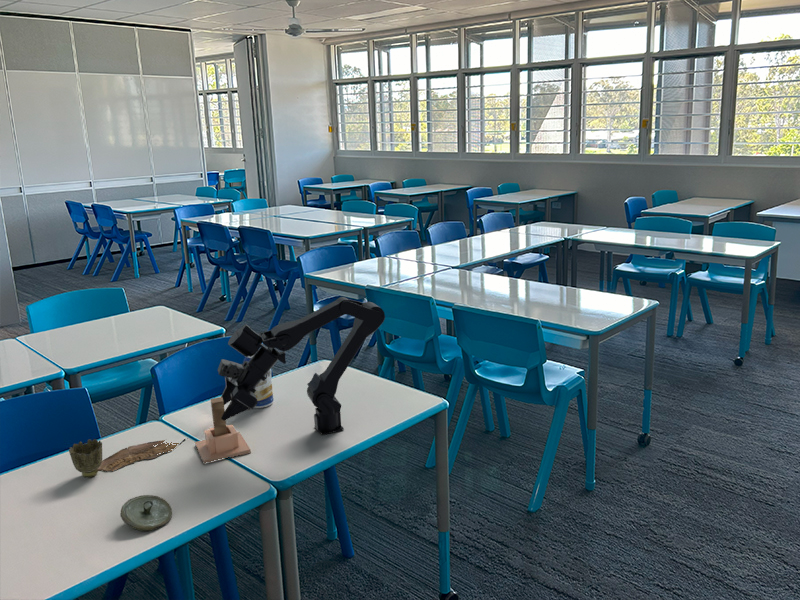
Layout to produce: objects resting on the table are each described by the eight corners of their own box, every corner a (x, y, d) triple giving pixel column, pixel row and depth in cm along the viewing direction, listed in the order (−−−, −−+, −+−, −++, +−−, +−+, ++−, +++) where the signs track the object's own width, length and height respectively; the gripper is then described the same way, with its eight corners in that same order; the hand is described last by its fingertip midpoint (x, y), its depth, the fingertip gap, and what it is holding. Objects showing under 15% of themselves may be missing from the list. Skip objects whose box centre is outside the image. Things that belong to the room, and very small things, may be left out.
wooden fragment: (96, 478, 163) (95, 474, 162) (85, 462, 171) (85, 458, 171) (197, 446, 178) (197, 442, 177) (183, 432, 186) (182, 429, 186)
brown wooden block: (227, 442, 176) (222, 397, 173) (228, 446, 173) (223, 401, 170) (215, 444, 175) (210, 399, 172) (216, 449, 172) (211, 403, 169)
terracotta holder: (239, 435, 182) (238, 418, 181) (250, 452, 172) (249, 435, 171) (195, 445, 177) (193, 428, 176) (204, 464, 167) (201, 446, 166)
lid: (146, 504, 150) (143, 484, 148) (182, 511, 146) (179, 491, 145) (112, 530, 140) (108, 509, 139) (149, 538, 137) (146, 517, 135)
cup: (74, 485, 159) (69, 455, 157) (73, 472, 165) (68, 443, 163) (107, 477, 162) (103, 448, 160) (105, 465, 168) (100, 436, 166)
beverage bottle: (271, 396, 209) (266, 336, 204) (276, 406, 201) (271, 344, 196) (244, 400, 206) (238, 340, 201) (248, 411, 198) (242, 348, 193)
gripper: (230, 339, 178) (192, 384, 177) (239, 359, 161) (198, 409, 160) (262, 362, 183) (225, 406, 182) (274, 384, 166) (234, 433, 165)
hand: (220, 412), depth 172 cm, fingers open, 9 cm apart
